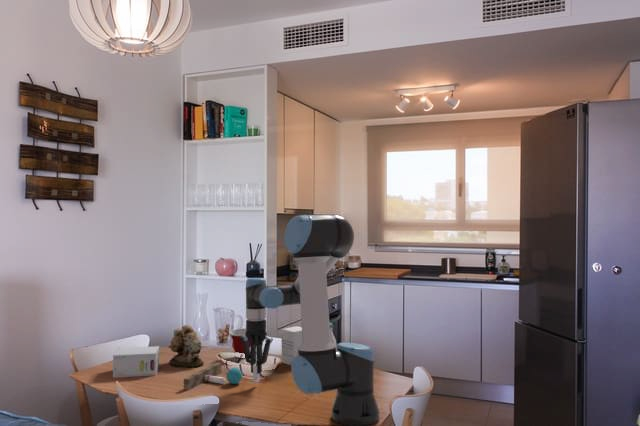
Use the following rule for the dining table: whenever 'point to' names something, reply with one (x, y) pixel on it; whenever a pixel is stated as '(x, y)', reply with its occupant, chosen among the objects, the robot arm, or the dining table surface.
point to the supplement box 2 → (290, 343)
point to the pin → (214, 379)
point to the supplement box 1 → (136, 361)
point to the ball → (234, 375)
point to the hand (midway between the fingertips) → (256, 381)
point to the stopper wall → (201, 376)
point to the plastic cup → (238, 339)
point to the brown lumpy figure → (186, 348)
